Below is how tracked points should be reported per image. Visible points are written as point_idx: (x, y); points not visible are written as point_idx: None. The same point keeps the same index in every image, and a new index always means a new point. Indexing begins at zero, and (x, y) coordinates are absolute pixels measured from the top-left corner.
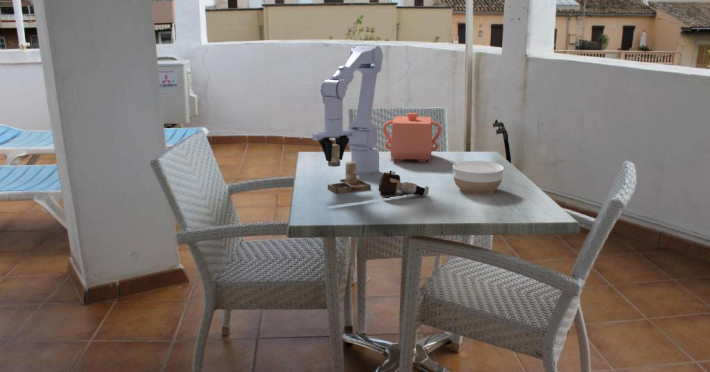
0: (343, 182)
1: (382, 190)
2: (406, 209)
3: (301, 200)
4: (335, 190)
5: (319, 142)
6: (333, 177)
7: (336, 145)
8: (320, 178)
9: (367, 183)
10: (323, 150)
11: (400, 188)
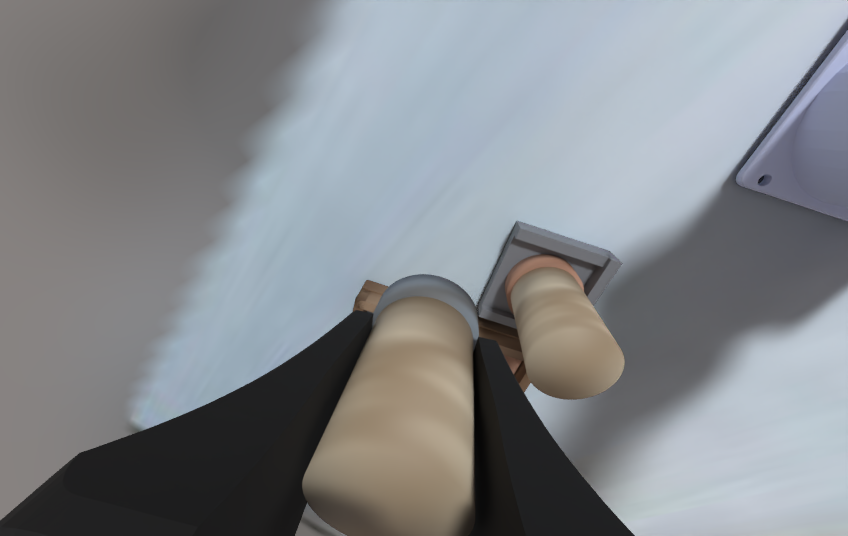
0: (505, 262)
1: None
2: None
3: (210, 295)
4: None
5: (120, 440)
6: (619, 62)
7: (412, 526)
8: (529, 8)
9: None
10: (280, 368)
11: None
